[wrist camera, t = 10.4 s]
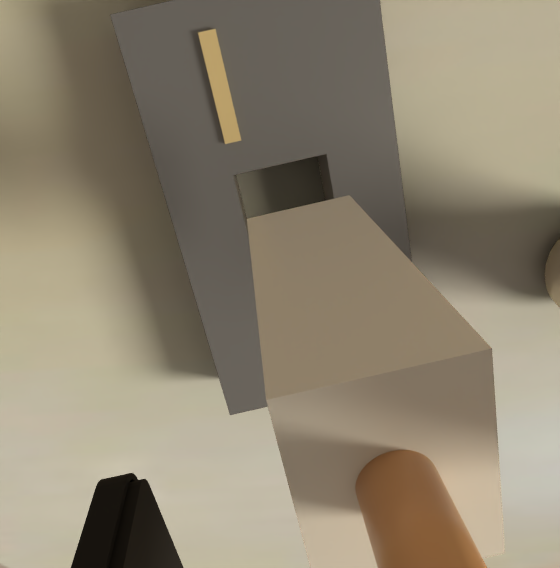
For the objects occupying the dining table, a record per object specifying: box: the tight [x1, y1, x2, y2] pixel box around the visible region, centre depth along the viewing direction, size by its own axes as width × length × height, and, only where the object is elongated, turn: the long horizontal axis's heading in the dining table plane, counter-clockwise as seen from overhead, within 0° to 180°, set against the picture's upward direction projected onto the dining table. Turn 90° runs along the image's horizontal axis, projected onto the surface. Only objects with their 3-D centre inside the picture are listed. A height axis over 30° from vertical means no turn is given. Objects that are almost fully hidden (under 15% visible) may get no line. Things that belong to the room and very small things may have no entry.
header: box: [110, 0, 412, 415], centre depth 30 cm, size 22×12×4 cm, turn 12°
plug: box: [247, 195, 505, 568], centre depth 14 cm, size 5×4×16 cm
